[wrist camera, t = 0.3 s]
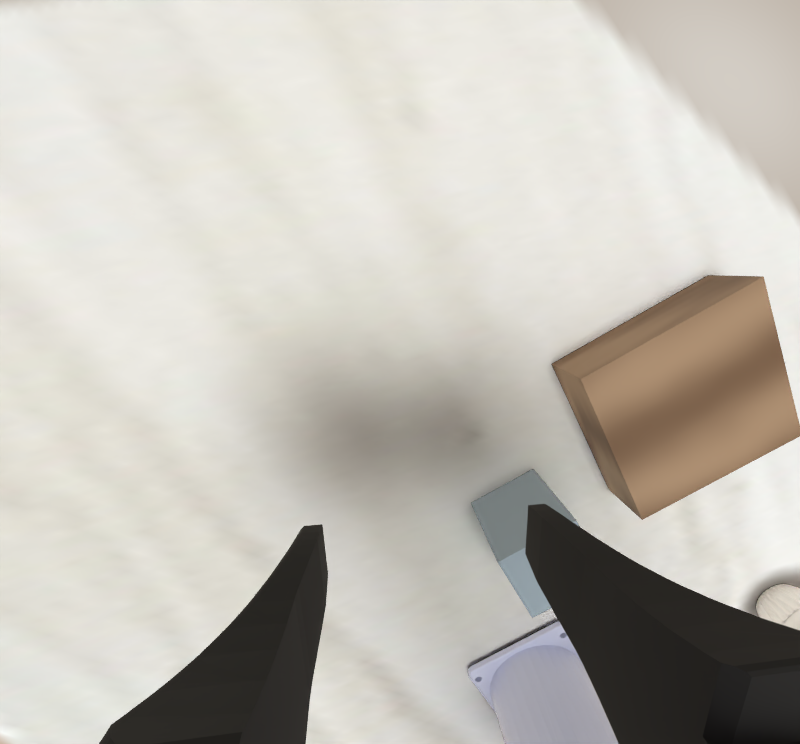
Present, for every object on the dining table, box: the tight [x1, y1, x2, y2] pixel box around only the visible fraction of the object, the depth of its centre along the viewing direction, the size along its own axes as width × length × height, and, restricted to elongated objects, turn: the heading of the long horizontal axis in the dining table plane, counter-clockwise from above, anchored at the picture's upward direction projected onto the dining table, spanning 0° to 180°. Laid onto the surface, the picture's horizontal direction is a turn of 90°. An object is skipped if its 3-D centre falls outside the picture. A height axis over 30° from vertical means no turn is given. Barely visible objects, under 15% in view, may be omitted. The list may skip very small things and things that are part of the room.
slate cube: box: [471, 469, 579, 618], centre depth 22 cm, size 4×4×5 cm
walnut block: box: [552, 275, 800, 520], centre depth 21 cm, size 10×10×3 cm
